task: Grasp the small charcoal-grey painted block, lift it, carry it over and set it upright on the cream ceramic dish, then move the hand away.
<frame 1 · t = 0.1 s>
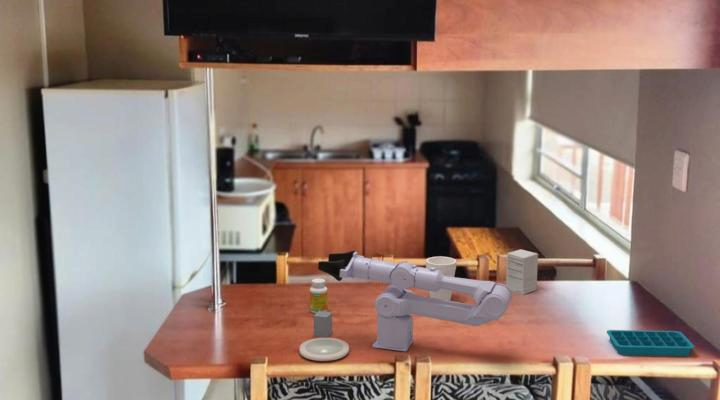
hand: (323, 261, 211), 22 cm above the breakfast bar, tool horizontal, fingers open, 7 cm apart
foam cup: (440, 300, 244), on the breakfast bar
supplement bottle: (318, 311, 235), on the breakfast bar
dish: (324, 352, 204), on the breakfast bar
supplement box: (521, 290, 253), on the breakfast bar
ice cube tray: (648, 349, 206), on the breakfast bar
block: (323, 334, 216), on the breakfast bar
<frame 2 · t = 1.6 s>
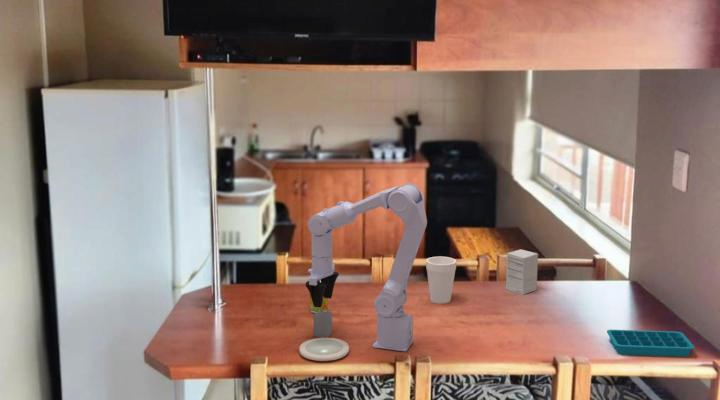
hand: (322, 302, 214), 9 cm above the breakfast bar, tool pointing down, fingers open, 7 cm apart
nothing on the breakfast bar moved.
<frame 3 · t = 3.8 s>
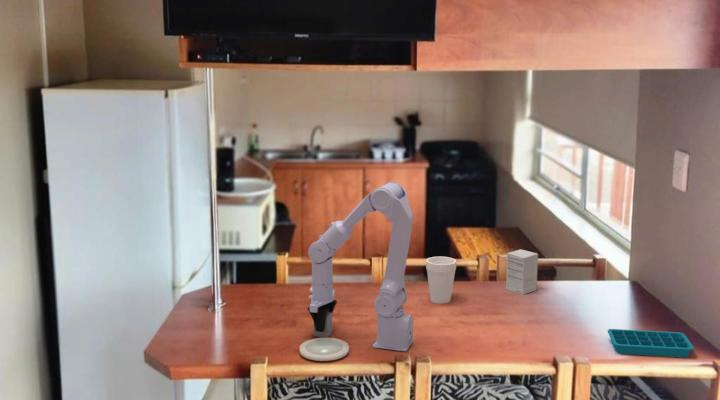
hand: (323, 328, 216), 2 cm above the breakfast bar, tool pointing down, fingers closed on block, 4 cm apart
block: (323, 334, 216), on the breakfast bar, touching gripper
everything else where it was.
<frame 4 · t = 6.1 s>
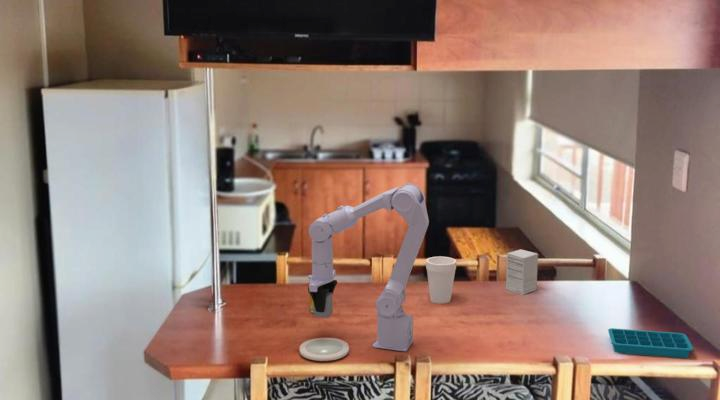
hand: (323, 308, 212), 8 cm above the breakfast bar, tool pointing down, fingers closed on block, 4 cm apart
block: (323, 314, 213), point 7 cm above the breakfast bar, touching gripper
everything else where it was.
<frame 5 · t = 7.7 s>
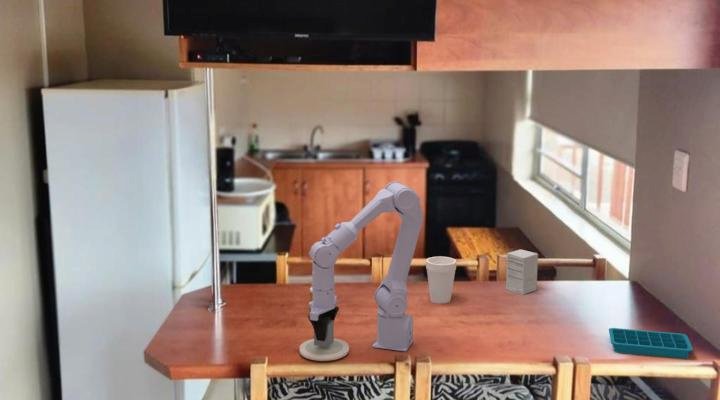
hand: (324, 337, 203), 4 cm above the breakfast bar, tool pointing down, fingers closed on block, 4 cm apart
block: (324, 343, 203), point 3 cm above the breakfast bar, touching gripper
when the fingers open (4 cm above the breakfast bar, at t = 8.7 s): block stays where it is, resting on dish.
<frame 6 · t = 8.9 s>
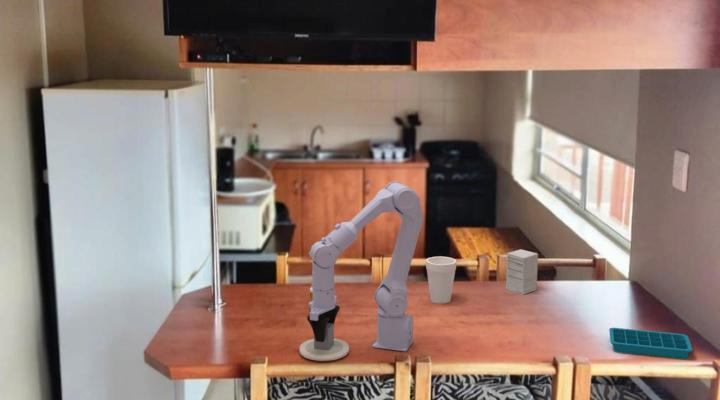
hand: (324, 337, 203), 4 cm above the breakfast bar, tool pointing down, fingers open, 5 cm apart
block: (324, 346, 203), point 2 cm above the breakfast bar, touching dish
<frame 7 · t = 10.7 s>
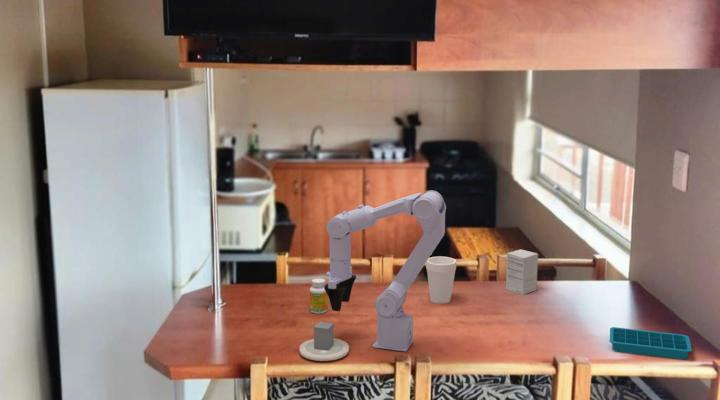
hand: (340, 305, 212), 9 cm above the breakfast bar, tool pointing down, fingers open, 7 cm apart
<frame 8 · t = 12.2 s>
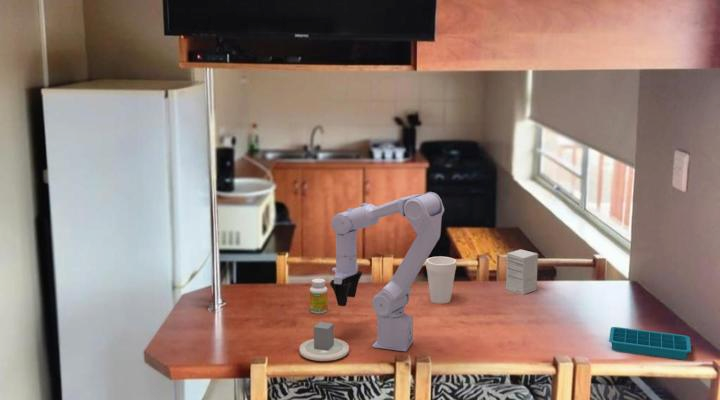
hand: (346, 301, 215), 9 cm above the breakfast bar, tool pointing down, fingers open, 7 cm apart
at the end: block inside the target area on the dish (0.1 cm from its centre), point 1.7 cm above the dish's base; block tilted 0°; the gripper is holding nothing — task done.
